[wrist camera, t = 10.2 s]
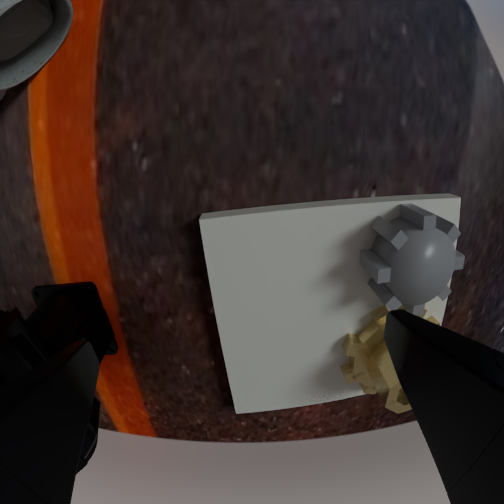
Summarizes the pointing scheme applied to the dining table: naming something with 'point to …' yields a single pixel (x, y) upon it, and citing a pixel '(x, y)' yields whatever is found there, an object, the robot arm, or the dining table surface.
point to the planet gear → (375, 362)
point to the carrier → (320, 286)
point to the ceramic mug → (30, 37)
